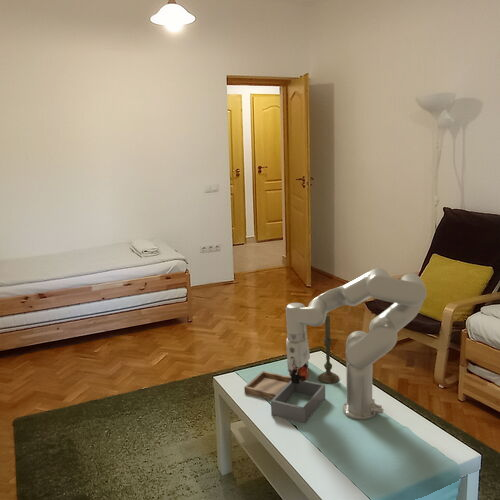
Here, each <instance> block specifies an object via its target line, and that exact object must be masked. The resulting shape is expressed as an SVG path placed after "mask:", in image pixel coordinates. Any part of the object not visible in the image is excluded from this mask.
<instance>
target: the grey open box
mask: <svg viewBox="0 0 500 500" xmlns="http://www.w3.org/2000/svg"><path fill="white" fill-rule="evenodd" d="M299 382H300V383H299V384H298V385H297V384H295V383H292V382H291V381H290V382H289V383H288V384H287V385H286V386H285V387H284V388H283V389H282V390H281V391H280V392H279V393H278V394H277V395H276V396H275V397H274V398H273V399H272V400H271V399H270V412H271V413H270V414H271V416H273V417H278V418H281V419H285V420H289V421H293V422H295V423H300V424H304V425H306V424H307V423H308V421H309V420H310V419H311V418H312V417H313V415H314V414H315V412H317V410H318V409H319V407H320V406H321V405H322V404H323V403H324V401H325V400H326V384H324V383H318V382H313V381H308V380H306V381H299ZM295 394H299V395H303V396H307V397H311V398H310V399H309V400H308V401H307V403H306V404H304V406H298V405H295V404H291V403H288V401H289V400H290V399H291V398H292V397H293V396H294V395H295Z"/></svg>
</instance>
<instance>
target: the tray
mask: <svg viewBox="0 0 500 500" xmlns="http://www.w3.org/2000/svg"><path fill="white" fill-rule="evenodd" d="M290 381H291V377H290V376H286V375H283V374H278V373H273V372H269V371H265V370H262V371H261V372H260V373H259V374H257V376H255V377H254V378H253V379H251V381H250V382H248V384H246V385H245V386H244V388H243V389H244V394H247V395H252V396H256V397H259V398H264V399H268V400H270V401H271V400H272V399H273V398H274V397H275V396H276V395H277V394H278V393H279V392H280V391H281V390H282V389H283V388H284V387H285V386H286V385H287V384H288V383H289V382H290Z"/></svg>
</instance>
